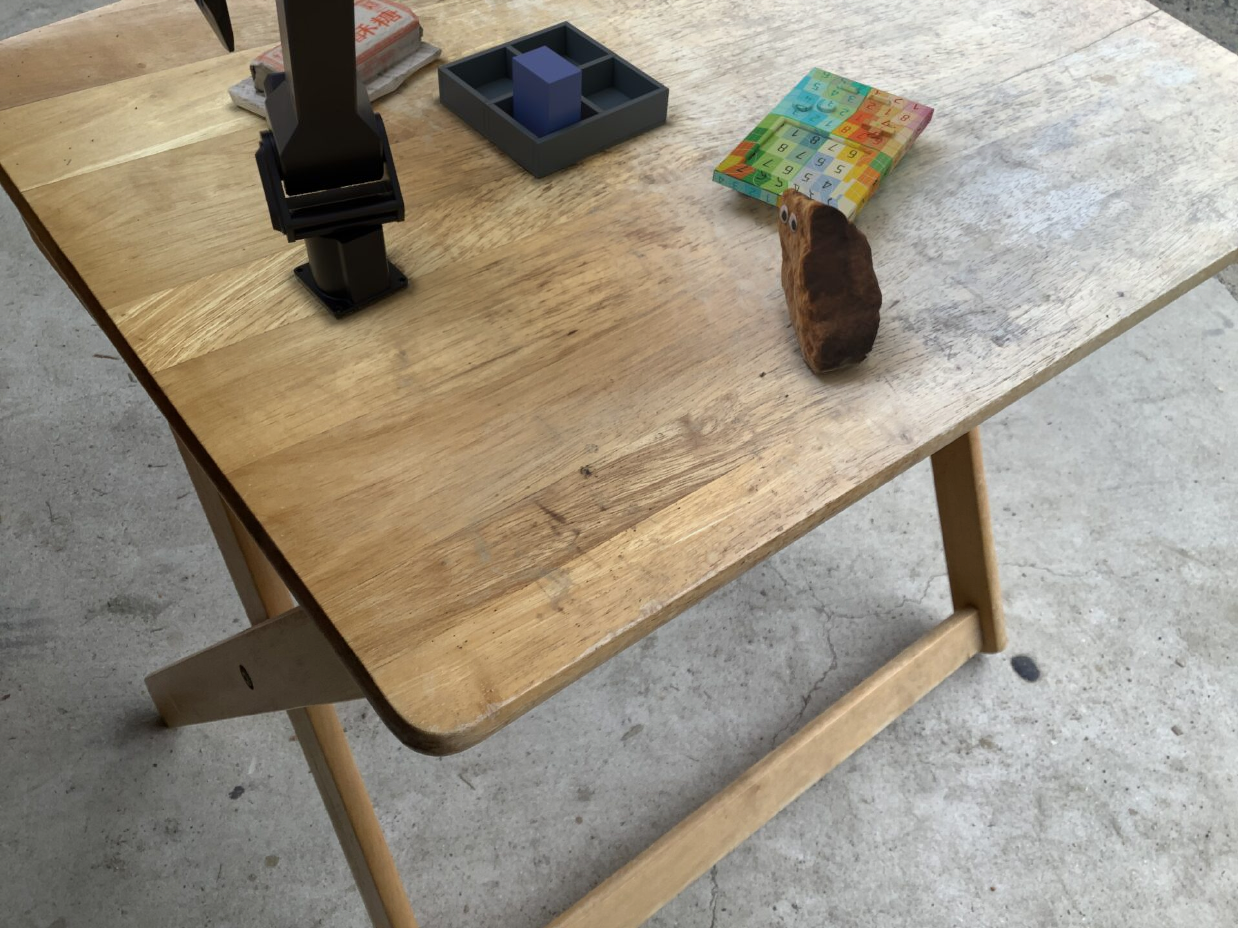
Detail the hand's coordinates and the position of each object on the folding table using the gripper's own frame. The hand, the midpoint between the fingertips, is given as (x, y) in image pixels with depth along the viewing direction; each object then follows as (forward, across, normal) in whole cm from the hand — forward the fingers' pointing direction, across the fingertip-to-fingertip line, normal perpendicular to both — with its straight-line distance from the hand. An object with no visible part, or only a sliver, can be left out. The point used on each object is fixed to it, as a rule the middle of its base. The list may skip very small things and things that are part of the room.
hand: (284, 32), depth 84 cm
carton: (+11, -18, +9) cm, 23 cm away
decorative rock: (+12, -20, +40) cm, 46 cm away
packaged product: (+12, -9, -10) cm, 18 cm away
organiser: (+12, -22, +6) cm, 26 cm away
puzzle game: (+12, -35, +27) cm, 46 cm away
